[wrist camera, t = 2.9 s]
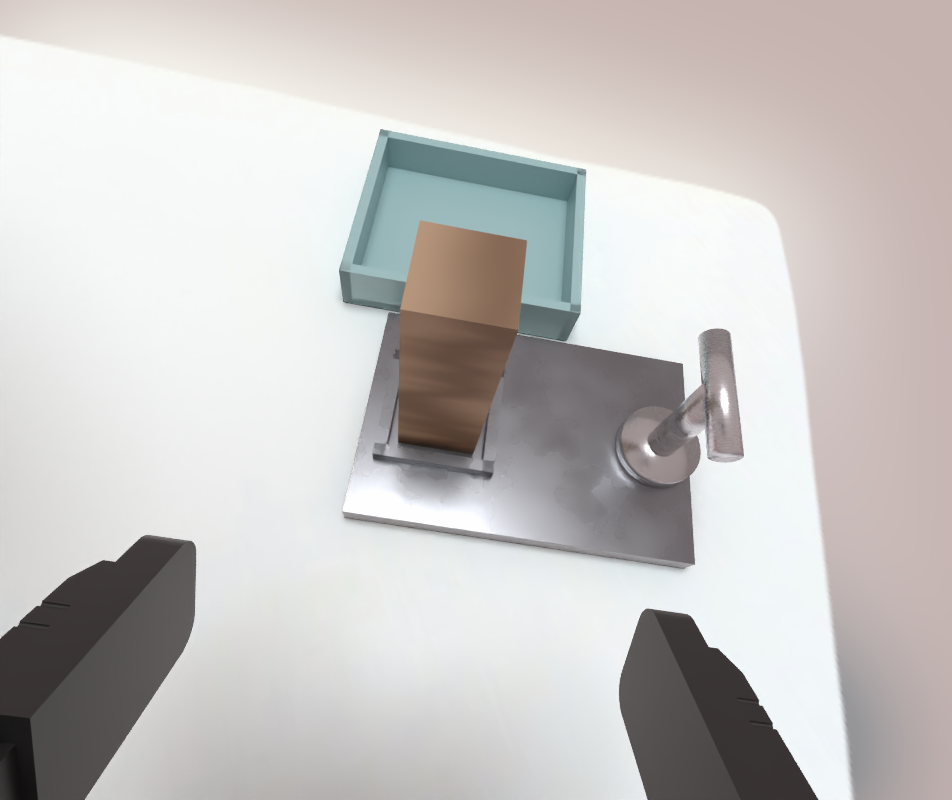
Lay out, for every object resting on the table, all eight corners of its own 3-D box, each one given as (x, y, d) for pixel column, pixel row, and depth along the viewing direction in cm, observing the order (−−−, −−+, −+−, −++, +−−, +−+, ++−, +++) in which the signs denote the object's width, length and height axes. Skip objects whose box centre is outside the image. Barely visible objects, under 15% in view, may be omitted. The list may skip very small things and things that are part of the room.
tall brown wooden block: (397, 442, 29) (399, 309, 18) (410, 376, 31) (420, 220, 20) (472, 454, 29) (518, 330, 19) (481, 388, 31) (527, 240, 20)
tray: (343, 301, 34) (339, 270, 31) (381, 166, 39) (380, 129, 37) (566, 340, 35) (580, 313, 32) (573, 203, 40) (586, 169, 37)
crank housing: (344, 517, 28) (325, 456, 20) (389, 323, 34) (387, 216, 26) (687, 568, 29) (796, 530, 21) (676, 373, 35) (760, 285, 27)
